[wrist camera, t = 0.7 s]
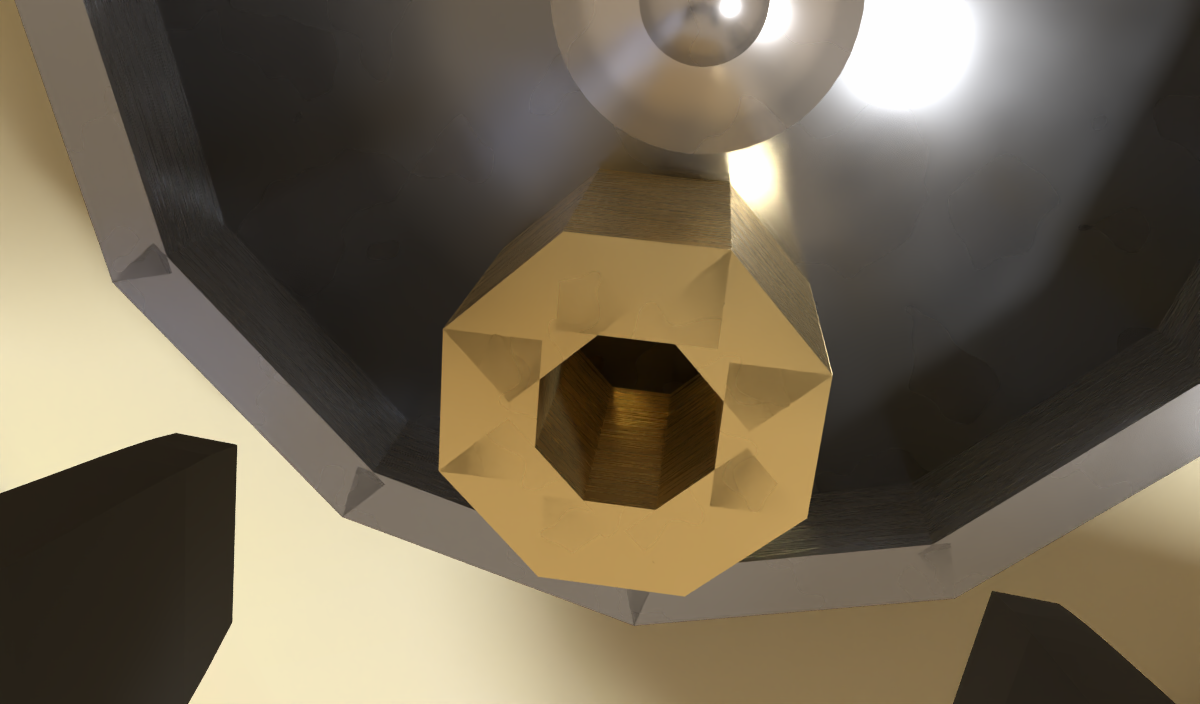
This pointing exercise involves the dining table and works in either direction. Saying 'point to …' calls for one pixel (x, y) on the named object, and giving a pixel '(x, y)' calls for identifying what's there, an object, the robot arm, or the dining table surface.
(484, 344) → the planet gear
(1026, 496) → the carrier
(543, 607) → the dining table surface
